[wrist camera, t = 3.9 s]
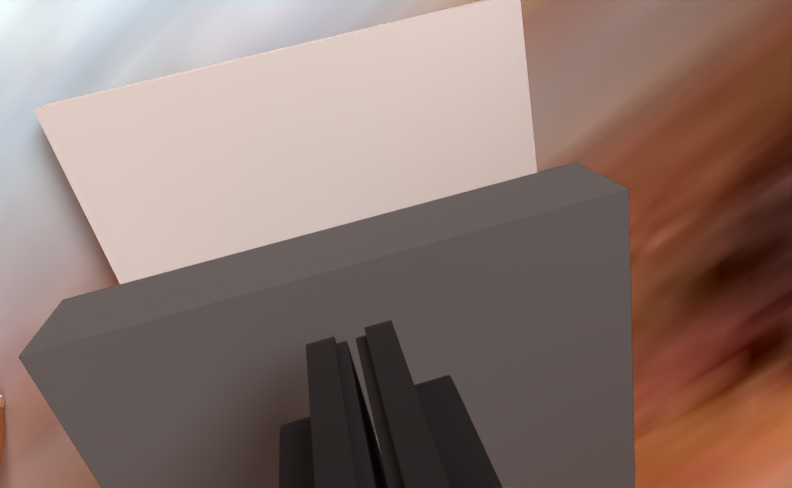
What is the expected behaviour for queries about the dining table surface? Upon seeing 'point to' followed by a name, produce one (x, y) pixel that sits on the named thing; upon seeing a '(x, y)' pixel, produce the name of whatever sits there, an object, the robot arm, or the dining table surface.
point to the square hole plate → (345, 320)
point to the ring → (1, 424)
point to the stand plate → (298, 137)
